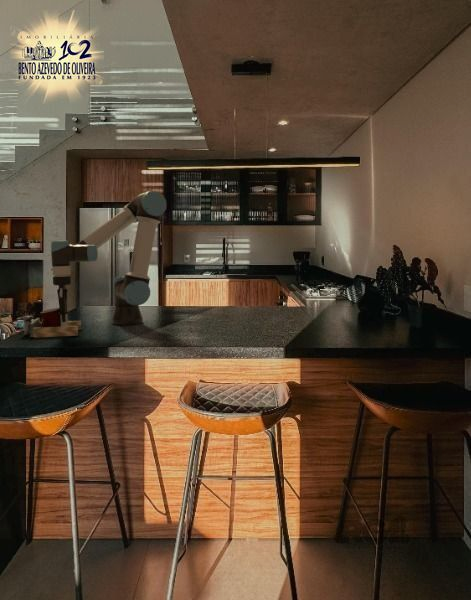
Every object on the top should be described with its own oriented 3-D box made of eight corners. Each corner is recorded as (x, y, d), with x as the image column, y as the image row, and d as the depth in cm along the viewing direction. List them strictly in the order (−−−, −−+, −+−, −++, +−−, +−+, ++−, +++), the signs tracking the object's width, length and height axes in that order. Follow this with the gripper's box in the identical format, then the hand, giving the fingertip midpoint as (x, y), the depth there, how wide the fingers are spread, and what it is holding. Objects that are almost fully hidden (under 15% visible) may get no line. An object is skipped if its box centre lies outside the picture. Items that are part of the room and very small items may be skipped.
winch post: (34, 333, 219) (33, 315, 218) (33, 335, 215) (32, 317, 214) (24, 333, 218) (23, 316, 217) (22, 335, 214) (21, 317, 213)
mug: (55, 335, 213) (50, 312, 211) (39, 337, 215) (33, 315, 213) (68, 328, 223) (62, 307, 221) (52, 330, 225) (46, 309, 223)
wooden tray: (81, 329, 229) (80, 316, 228) (77, 335, 213) (77, 321, 212) (37, 331, 225) (36, 318, 224) (30, 337, 209) (29, 323, 208)
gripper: (54, 275, 222) (57, 326, 225) (50, 276, 210) (53, 331, 212) (72, 274, 224) (74, 326, 227) (68, 276, 211) (71, 330, 214)
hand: (64, 328), depth 219 cm, fingers closed
